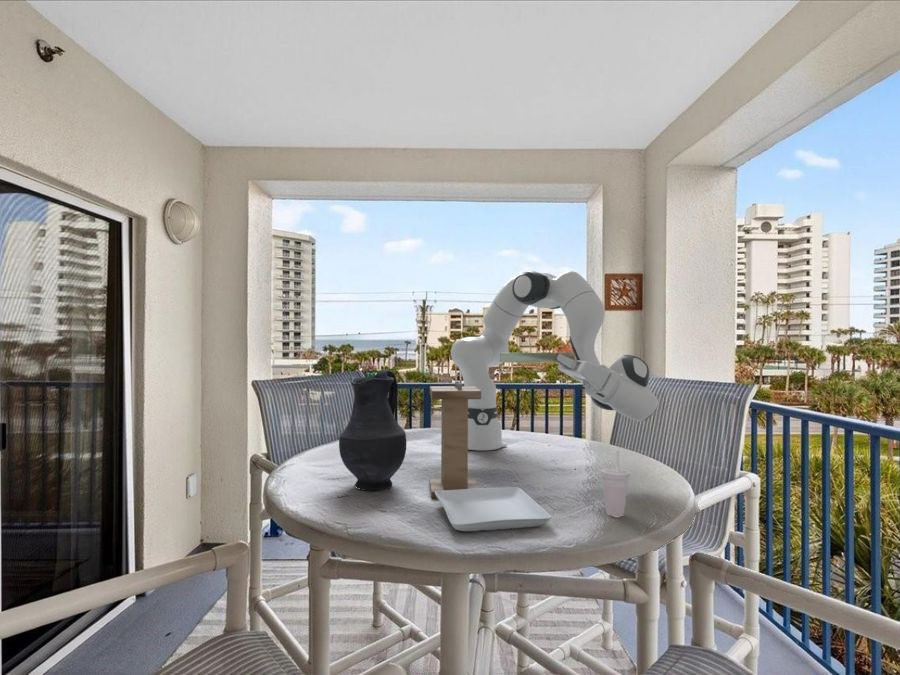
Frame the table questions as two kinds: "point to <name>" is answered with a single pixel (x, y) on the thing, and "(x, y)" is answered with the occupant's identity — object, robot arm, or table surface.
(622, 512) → the smoothie
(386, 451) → the pitcher
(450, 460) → the shelf stand
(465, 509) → the salad plate
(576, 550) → the table surface
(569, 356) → the bar
